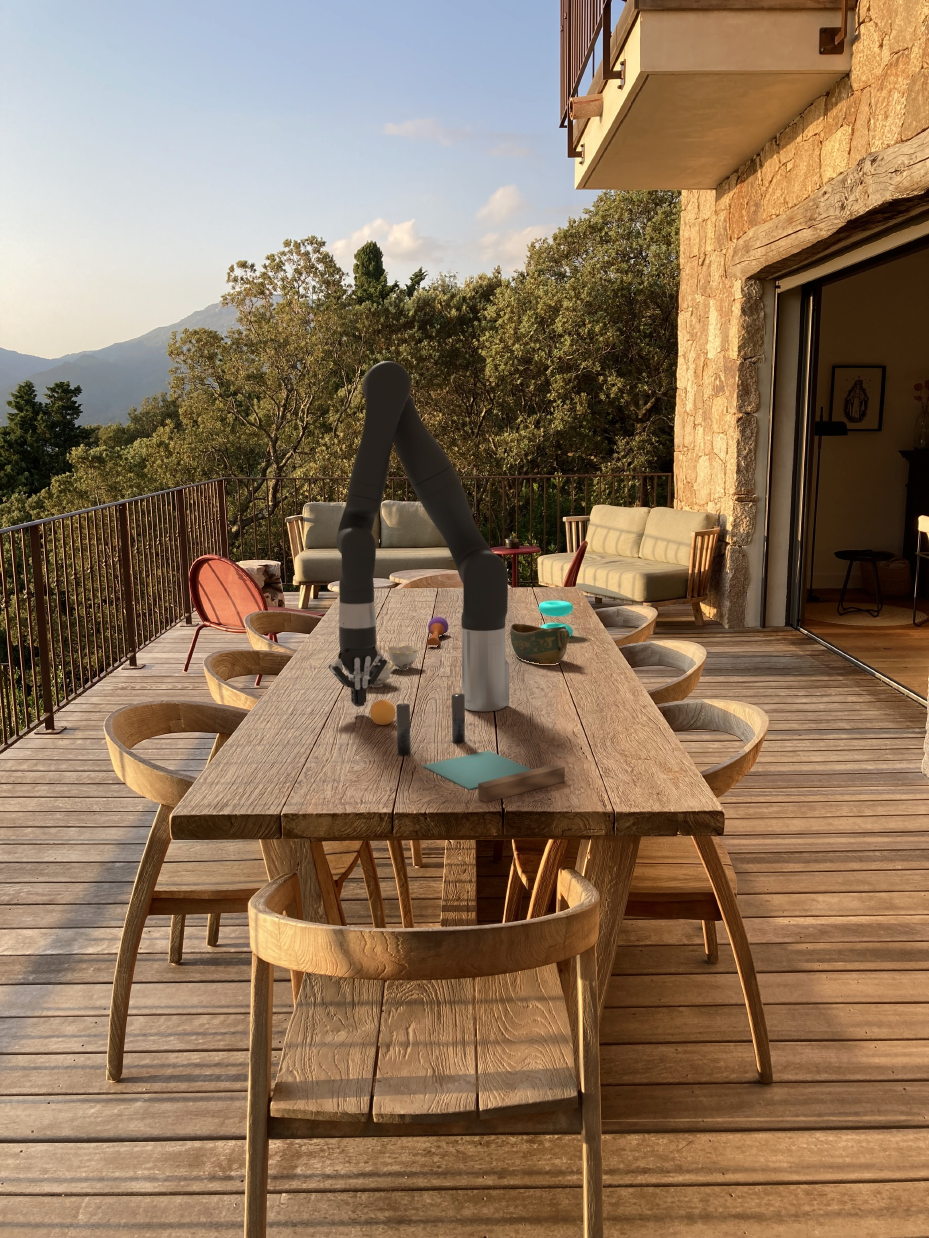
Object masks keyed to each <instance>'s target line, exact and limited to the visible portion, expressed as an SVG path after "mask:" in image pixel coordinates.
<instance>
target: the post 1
mask: <svg viewBox="0 0 929 1238" xmlns="http://www.w3.org/2000/svg"><path fill="white" fill-rule="evenodd" d="M395 712H396V743H397V744H396V745H397V746H396V747H397V755H398V756H401V757H403V756H404V757H406V756H410V755H411V754H412V747H411V704H409V703H405V702H404V703H397V704H396V708H395Z"/></svg>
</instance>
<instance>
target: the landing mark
mask: <svg viewBox="0 0 929 1238" xmlns="http://www.w3.org/2000/svg"><path fill="white" fill-rule="evenodd" d="M422 767H423V768H424V769H427V770H429V771H431V772H433V773H434V774H437V775H439V776H441V777H442V778H445V779H447V780H448V781H451V782H452V783H454V784H457V785H458V786H460V787H463V788H464V789H466V790H468V791H470V790H474V789H478V783H482V782H486V781H490V780H494V779H498V778H502V777H506V776H510V775H514V774H518V773H522V772H526V771H530V770H533V769H532V768H530V767H528V766H525V765H524V764H520V763H519V762H516V761H514V760H512V759H509V758H507V757H504V756H502V755H500V754H497V753H495V752H493V751H490V750H484V751H479V752H475V753H472V754H466V755H463V756H462V755H461V756H457V757H455V758H454V757H453V758H450V759H449V758H448V759H445V760H440V761H436V762H431V763H428V764H424V765H422Z"/></svg>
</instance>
